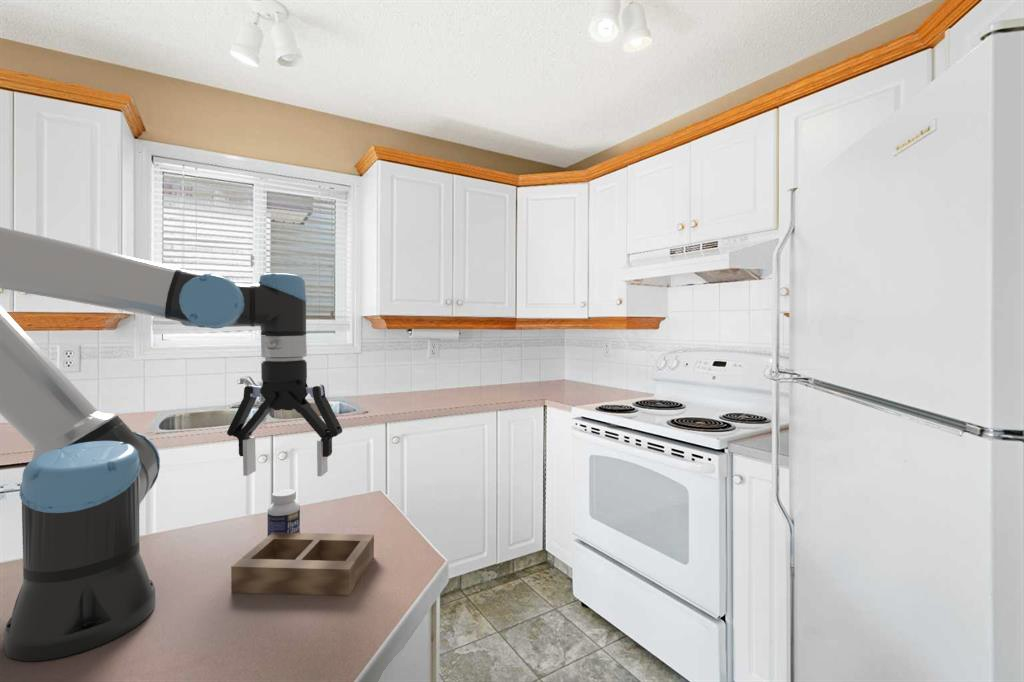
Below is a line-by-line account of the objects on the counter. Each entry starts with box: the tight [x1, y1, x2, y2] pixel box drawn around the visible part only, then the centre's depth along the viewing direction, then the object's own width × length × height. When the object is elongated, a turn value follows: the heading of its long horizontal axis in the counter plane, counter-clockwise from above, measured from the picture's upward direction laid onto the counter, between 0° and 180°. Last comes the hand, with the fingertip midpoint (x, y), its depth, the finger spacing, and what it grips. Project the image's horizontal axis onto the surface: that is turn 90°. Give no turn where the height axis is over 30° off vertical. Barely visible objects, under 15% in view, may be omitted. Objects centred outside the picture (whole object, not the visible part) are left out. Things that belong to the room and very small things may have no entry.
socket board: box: [230, 532, 375, 597], centre depth 78 cm, size 18×12×4 cm, turn 89°
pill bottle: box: [266, 488, 301, 537], centre depth 88 cm, size 5×5×10 cm
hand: (286, 473), depth 88 cm, fingers open, 13 cm apart
